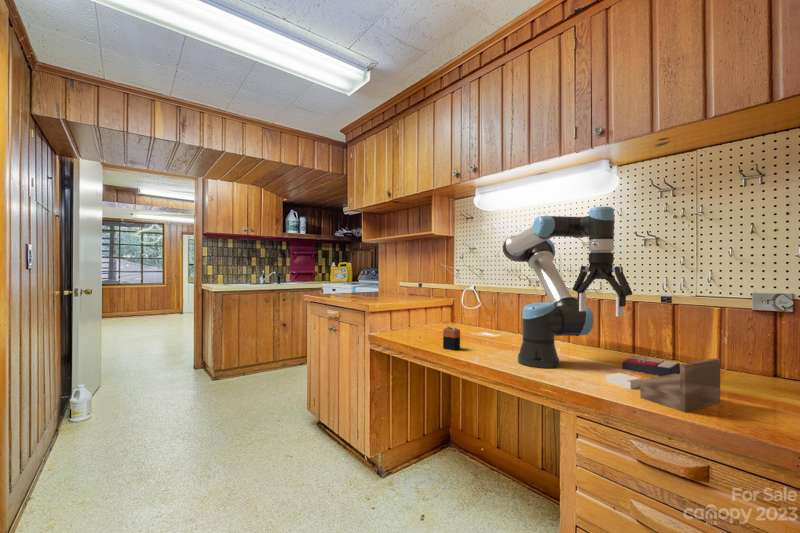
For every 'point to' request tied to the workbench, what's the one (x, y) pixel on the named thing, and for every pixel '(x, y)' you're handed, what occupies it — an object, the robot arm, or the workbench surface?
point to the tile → (624, 380)
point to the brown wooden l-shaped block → (685, 386)
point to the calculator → (651, 366)
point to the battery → (451, 338)
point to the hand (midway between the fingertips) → (600, 313)
